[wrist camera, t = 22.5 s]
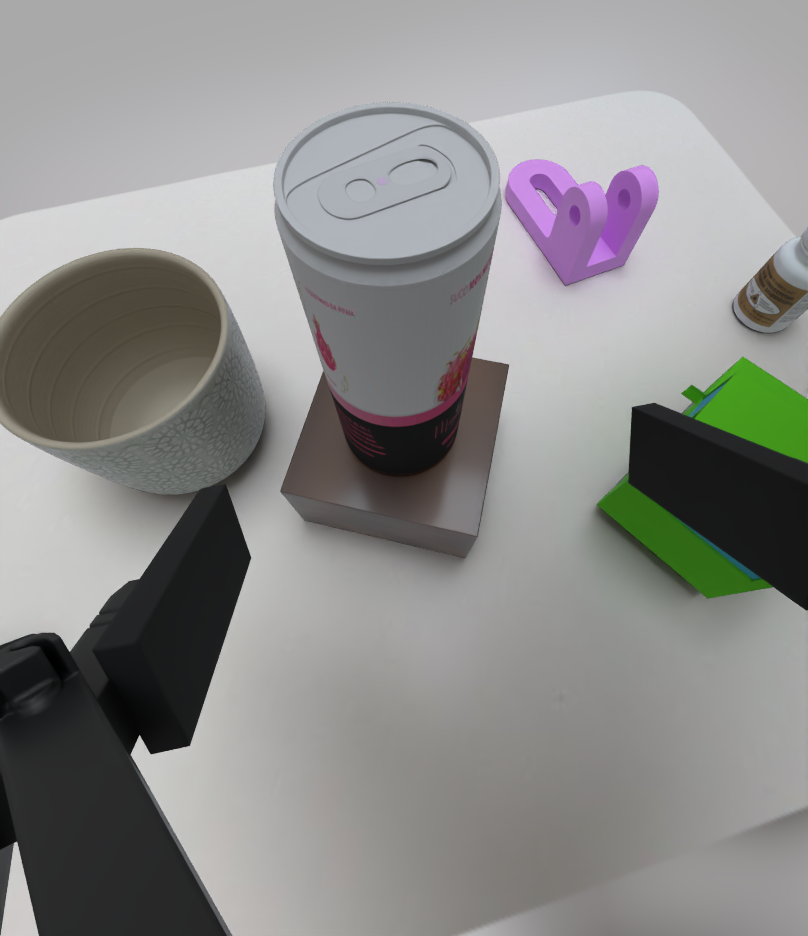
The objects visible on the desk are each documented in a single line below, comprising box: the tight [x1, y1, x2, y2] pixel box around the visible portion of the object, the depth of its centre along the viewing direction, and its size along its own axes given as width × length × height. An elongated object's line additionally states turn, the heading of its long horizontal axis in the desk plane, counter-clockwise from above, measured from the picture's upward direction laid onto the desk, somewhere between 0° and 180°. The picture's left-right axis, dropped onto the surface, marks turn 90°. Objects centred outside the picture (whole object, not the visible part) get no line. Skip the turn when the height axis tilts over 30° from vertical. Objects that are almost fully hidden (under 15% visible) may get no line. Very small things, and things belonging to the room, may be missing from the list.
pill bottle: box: [734, 228, 808, 333], centre depth 33 cm, size 4×4×8 cm
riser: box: [280, 358, 509, 558], centre depth 29 cm, size 11×11×6 cm
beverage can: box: [273, 102, 502, 474], centre depth 19 cm, size 7×7×15 cm
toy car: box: [597, 357, 808, 598], centre depth 26 cm, size 10×13×10 cm
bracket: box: [506, 160, 659, 285], centre depth 37 cm, size 13×6×7 cm, turn 22°
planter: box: [0, 248, 265, 494], centre depth 28 cm, size 12×12×11 cm
